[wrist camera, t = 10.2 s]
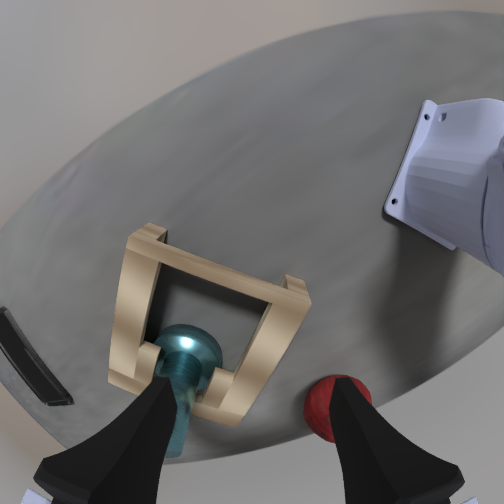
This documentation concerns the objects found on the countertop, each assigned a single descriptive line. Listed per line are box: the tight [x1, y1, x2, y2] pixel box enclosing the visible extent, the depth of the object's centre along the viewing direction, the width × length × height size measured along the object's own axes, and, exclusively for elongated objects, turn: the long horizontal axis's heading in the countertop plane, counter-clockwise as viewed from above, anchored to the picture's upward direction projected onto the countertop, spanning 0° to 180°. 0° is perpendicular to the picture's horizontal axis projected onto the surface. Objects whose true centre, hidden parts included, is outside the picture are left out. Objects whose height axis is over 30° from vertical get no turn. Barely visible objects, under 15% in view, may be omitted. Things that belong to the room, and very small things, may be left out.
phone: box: [0, 306, 73, 406], centre depth 26 cm, size 8×1×15 cm
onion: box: [303, 375, 372, 443], centre depth 20 cm, size 6×6×8 cm
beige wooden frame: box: [108, 223, 312, 427], centre depth 21 cm, size 14×12×4 cm
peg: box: [154, 324, 222, 458], centre depth 18 cm, size 6×6×10 cm
